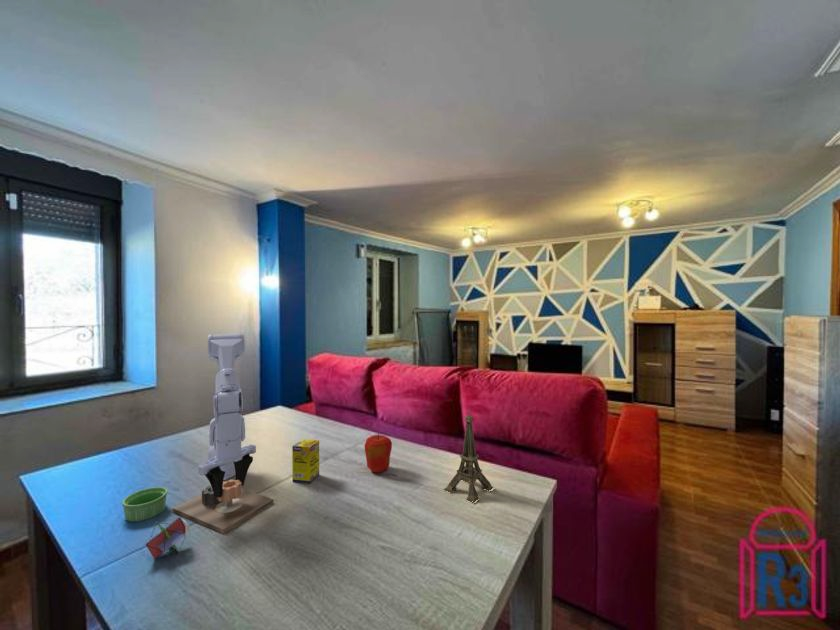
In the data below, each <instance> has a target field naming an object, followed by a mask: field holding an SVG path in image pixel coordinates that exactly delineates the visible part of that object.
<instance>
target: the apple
mask: <svg viewBox="0 0 840 630" xmlns="http://www.w3.org/2000/svg"><path fill="white" fill-rule="evenodd" d="M391 440H392V439H390V437H388V436H385V435H382V434H379V433H377V434H375V435H371V436H369V437H368V438H366V441H365V443H364V453H365V458H366V466H367V467H368V469H369V470H370V471H371V472H373V473H376V474H377V473H380V474H381V473H384V472H385V471H387V470H388V468H389V467H390V463H391V462H390V461H391V460H390V458H391V457H390V456H391V453H392V448H393V442H392V441H391Z"/></svg>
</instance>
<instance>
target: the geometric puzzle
mask: <svg viewBox="0 0 840 630" xmlns="http://www.w3.org/2000/svg"><path fill="white" fill-rule="evenodd" d="M171 520H172V519H169V521H171ZM166 521H168V520H165V523H164V522H161V524H164V525H167V526H166V527H163V526H162V525H161V524H160V523H159V522H155V524H156V525H157V526H158V528H159V530H160V532H159V533H157V534H156V535H155V536H154V537H151V538H149V541H146V543H145V546H146V548H147V550H148V551H149V552H150V554H151V555H152V557H153V558H154V559H153V560H157V559H158V558H160V557H161V555H163V554H165V553H166V554H167V553H168V554H167V555H166V557H168V556H169V553H173V554H174V553H175V554H176V552H177V551H178V552H179V553H180V550H182V546H183V544H184V540H182V543H181V546H180V549H178V548H177V546H176V543H177V542H179V541H180V540H181V539H182V538H186V536H187V535H188V534H189V533H190V532H191V529H190V524H189V523H188V522H187V521H186V520H185V519H184V518H182V516H179V517H177V518H176V519H175V520H174V521H173V522H172V523H169V524H168V523H166ZM155 528H156V527H153V530H152V533H151V536H153V533H154V532H155ZM172 547H173V548H172ZM171 548H172V549H174V550H175V549H176V550H177V551H176V550H175V551H173V552H172V551H171V552H168V550H169V549H171ZM178 552H177V553H178ZM163 557H165V555H164V556H163ZM156 558H157V559H156Z"/></svg>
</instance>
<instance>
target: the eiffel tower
mask: <svg viewBox="0 0 840 630" xmlns="http://www.w3.org/2000/svg"><path fill="white" fill-rule="evenodd" d="M463 421H464V422H465V433H464V441H463V449H462V453H460V455H459V458H461V459H460V464H459V467H458V469H456V474H455V475H454V476H453V478H452V479H451V480H450V482H449V483H448V484H447V486H446V487H445V488H443V489H442V490H443V491H444V490H445V491H444V492H446V491H448V492H450V493H449V494H453V493H454V492H456V491H457V490H458V488H457V486H458V485H459V483H460V482H463V481H465V482H468V483H467V484H469V485H468V493H467V497H466V499H465V501H466V500H468V501H470V502H472V501H473V502H472V503H471V504H473V503H474V502H475V501H476V500H478V499H480V497H479V496H478V492H477V490H476V486H475V482H476V481H477V480H478V481H479V484H481V486H482V487H481V489H482V488H483V489H486V490H488V491H489V490H491V489H492V488H493V487H494V486H492V484H491V482H490V481H489V480H488V479H487V477H486V476H485V475H484V473H483V469H481V467H480V465H479V460H478V459H479V457H480V456H479V454H477V453H476V452H477V451H476V445H475V444H476V443H475V437H474V428H473V422H474V421H475V419H474V416H472V415H471V409H470V407H468V415H467V416H465V417H464V419H463ZM461 480H463V481H461ZM465 482H464V483H465ZM456 489H457V490H456ZM455 490H456V491H455ZM453 491H454V492H453ZM448 492H447V493H448ZM452 492H453V493H452ZM468 501H467V502H468ZM470 502H469V503H470ZM473 505H476V504H475V503H474V504H473Z"/></svg>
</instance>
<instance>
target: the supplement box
mask: <svg viewBox="0 0 840 630" xmlns="http://www.w3.org/2000/svg"><path fill="white" fill-rule="evenodd" d="M291 449H292V465H291V466H292V482H293V483H302V484H311V483H312V481H314V480H315V479H316V478H317V477H318V476H319V475H320V440H319V439H309V438H308V439H307V438H301V439H300V440H299V441H298V442H297V443H295V444H293V445H292V448H291Z"/></svg>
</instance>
